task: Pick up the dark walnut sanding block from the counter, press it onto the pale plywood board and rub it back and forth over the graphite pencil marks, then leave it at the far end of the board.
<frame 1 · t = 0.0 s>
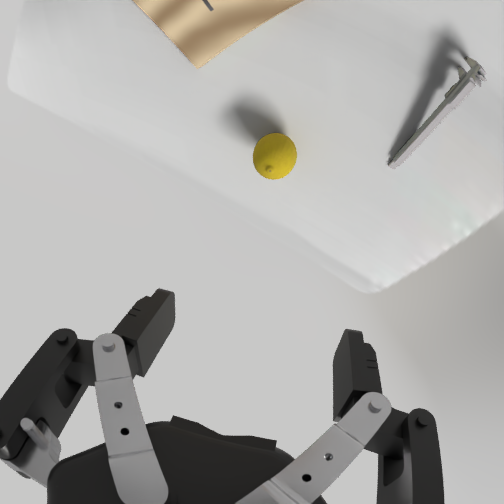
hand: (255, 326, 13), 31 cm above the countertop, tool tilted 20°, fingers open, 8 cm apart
caliper: (429, 112, 31), on the countertop
lemon: (279, 141, 40), on the countertop
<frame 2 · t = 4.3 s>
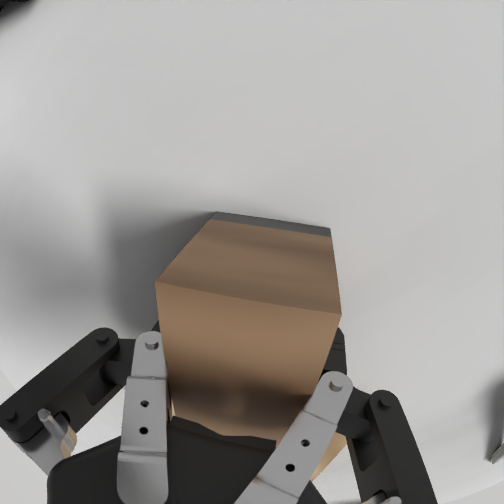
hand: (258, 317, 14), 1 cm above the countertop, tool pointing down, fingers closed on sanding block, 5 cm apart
plywood board: (230, 459, 24), on the countertop
sanding block: (262, 304, 15), on the countertop, touching gripper
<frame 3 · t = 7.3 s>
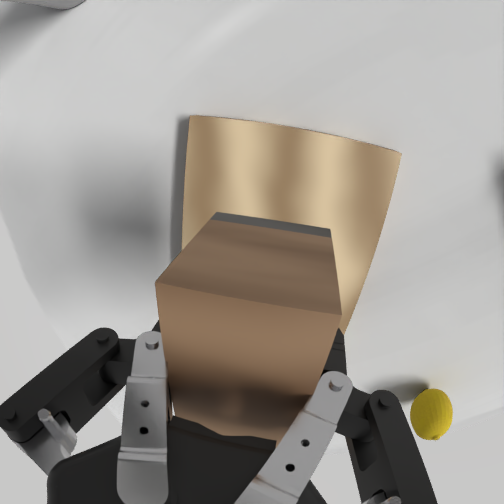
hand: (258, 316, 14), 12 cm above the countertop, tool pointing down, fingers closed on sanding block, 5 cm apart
plywood board: (269, 283, 28), on the countertop
sanding block: (262, 304, 15), point 11 cm above the countertop, touching gripper
lemon: (425, 388, 31), on the countertop
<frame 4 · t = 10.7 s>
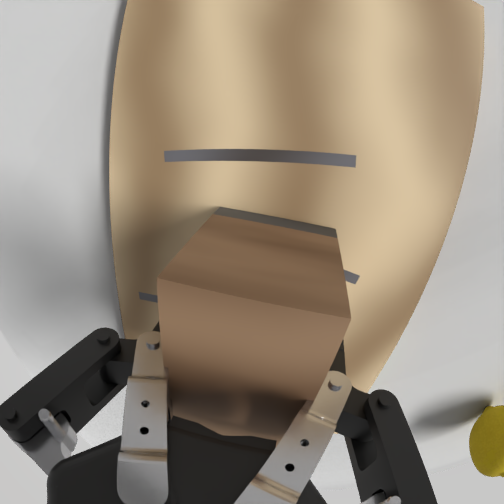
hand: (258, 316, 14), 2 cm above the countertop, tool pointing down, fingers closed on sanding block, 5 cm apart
plywood board: (269, 235, 15), on the countertop
sanding block: (261, 303, 15), point 2 cm above the countertop, touching gripper
lemon: (486, 405, 18), on the countertop
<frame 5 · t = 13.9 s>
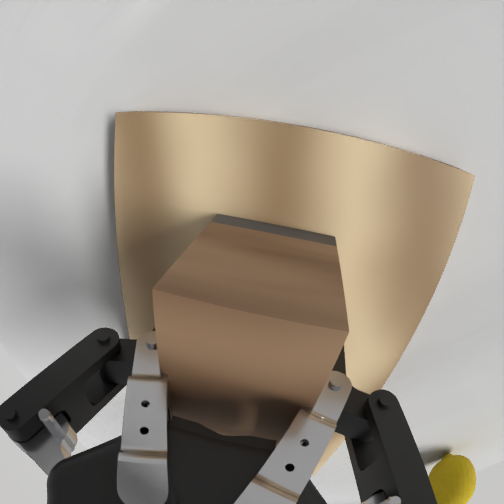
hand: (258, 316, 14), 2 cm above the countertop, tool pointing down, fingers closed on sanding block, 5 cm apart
plywood board: (255, 361, 18), on the countertop
sanding block: (260, 310, 14), point 2 cm above the countertop, touching gripper
lemon: (446, 452, 21), on the countertop
when the fingers open (2 cm above the countertop, at t = 17.2 s): sanding block stays where it is, resting on plywood board.
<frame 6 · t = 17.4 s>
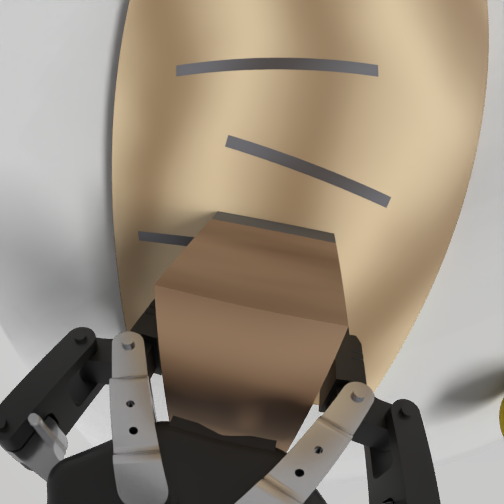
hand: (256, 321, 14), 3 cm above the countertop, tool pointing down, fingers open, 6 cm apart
plywood board: (287, 159, 13), on the countertop
sanding block: (260, 307, 15), point 2 cm above the countertop, touching plywood board
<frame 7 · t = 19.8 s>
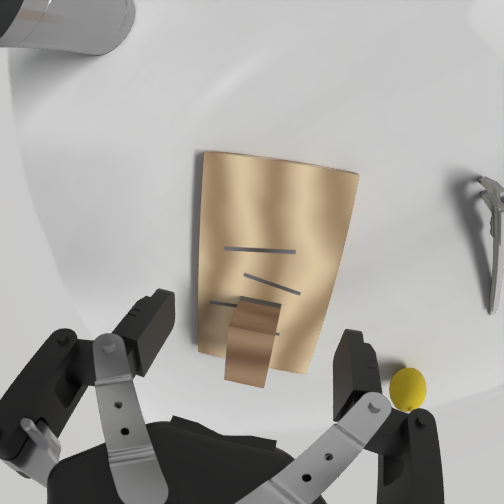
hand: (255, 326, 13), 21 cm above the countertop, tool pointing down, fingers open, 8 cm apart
plywood board: (265, 276, 36), on the countertop
sanding block: (257, 328, 38), point 2 cm above the countertop, touching plywood board
caliper: (489, 251, 29), on the countertop
lemon: (403, 368, 39), on the countertop
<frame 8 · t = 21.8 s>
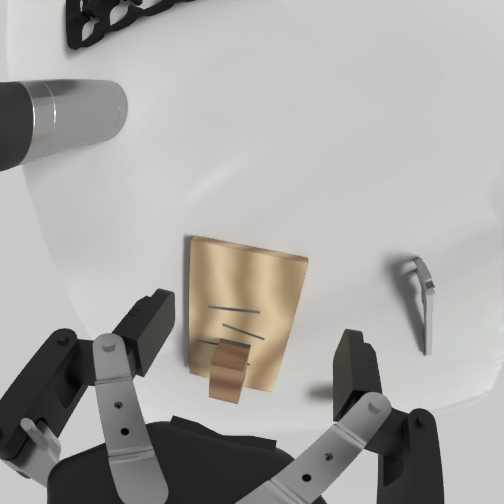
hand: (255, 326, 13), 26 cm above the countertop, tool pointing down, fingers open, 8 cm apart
plywood board: (239, 324, 47), on the countertop
sanding block: (233, 359, 49), point 2 cm above the countertop, touching plywood board
caliper: (423, 310, 41), on the countertop
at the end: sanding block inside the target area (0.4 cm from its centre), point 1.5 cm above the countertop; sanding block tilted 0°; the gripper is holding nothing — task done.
